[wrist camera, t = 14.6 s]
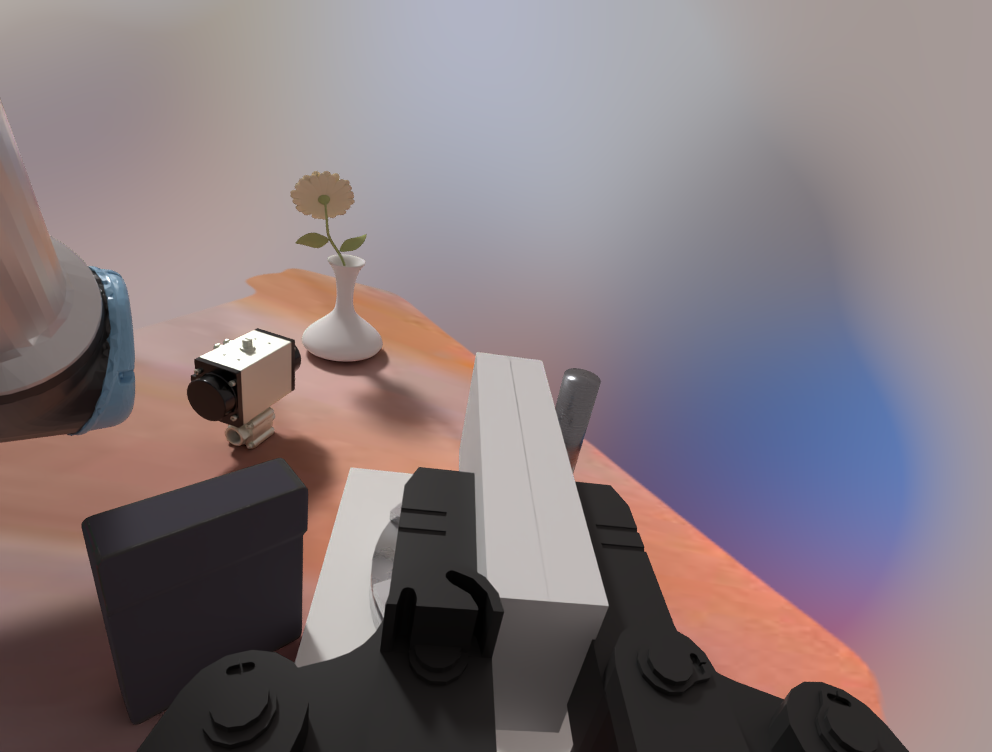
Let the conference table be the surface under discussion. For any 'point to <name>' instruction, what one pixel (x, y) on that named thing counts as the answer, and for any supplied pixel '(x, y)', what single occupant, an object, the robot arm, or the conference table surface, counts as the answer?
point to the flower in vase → (341, 328)
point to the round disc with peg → (573, 422)
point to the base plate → (346, 583)
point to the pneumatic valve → (244, 384)
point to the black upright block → (198, 578)
